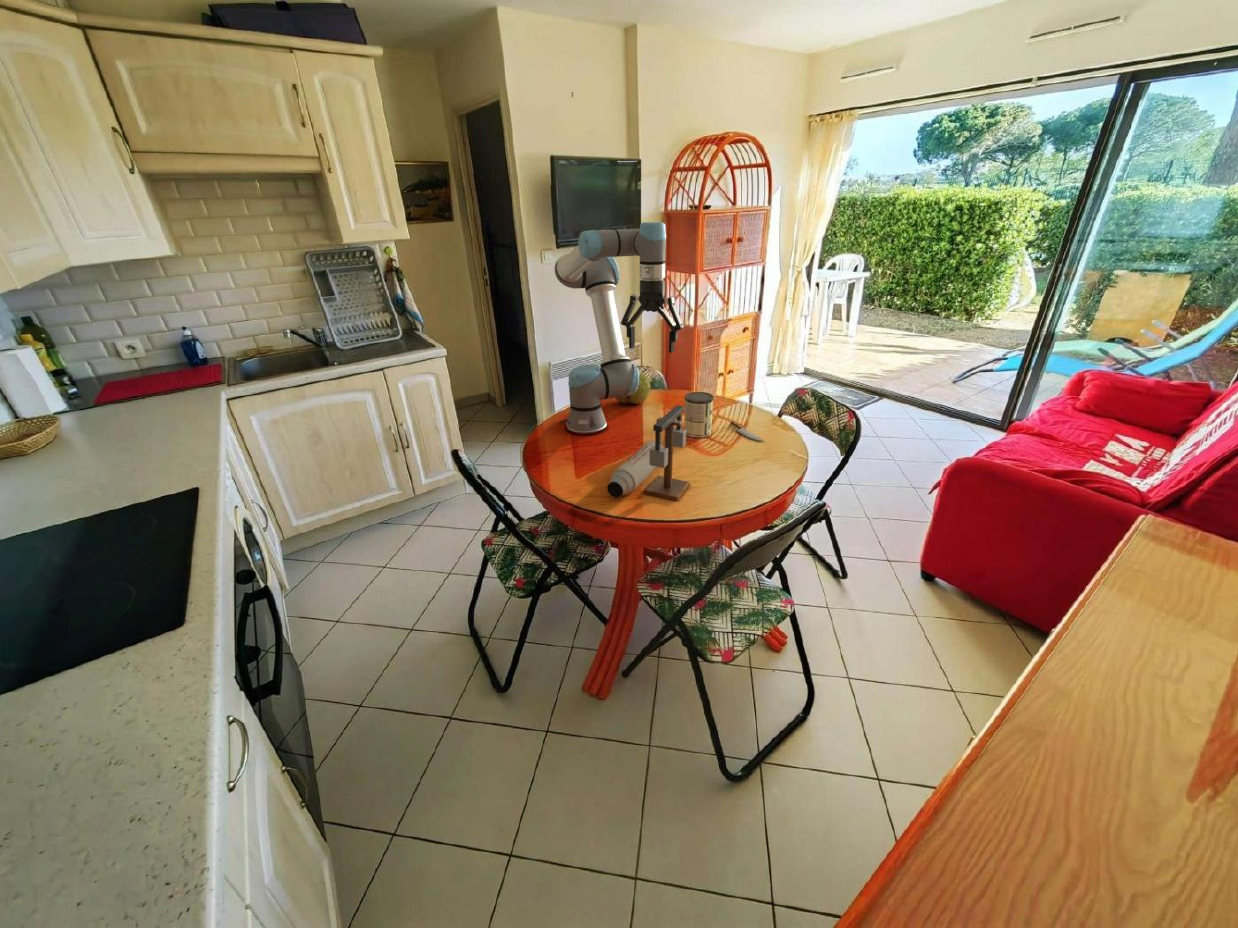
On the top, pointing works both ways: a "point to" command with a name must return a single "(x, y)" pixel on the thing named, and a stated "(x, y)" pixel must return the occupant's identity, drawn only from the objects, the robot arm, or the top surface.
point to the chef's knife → (746, 432)
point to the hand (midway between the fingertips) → (651, 350)
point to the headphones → (679, 437)
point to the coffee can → (698, 414)
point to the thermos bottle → (631, 472)
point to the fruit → (638, 392)
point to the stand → (668, 472)
